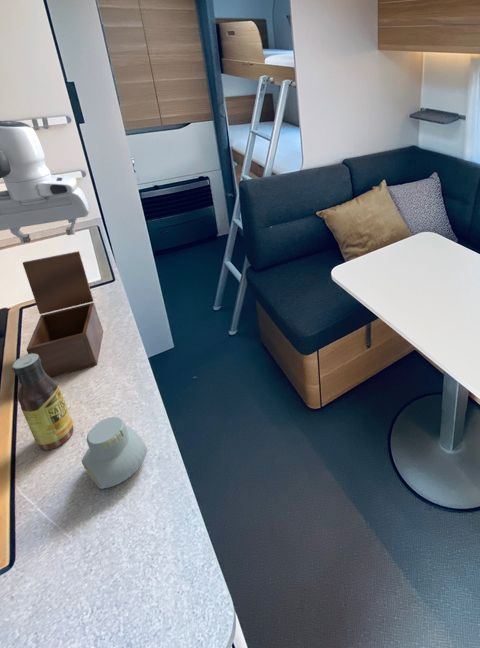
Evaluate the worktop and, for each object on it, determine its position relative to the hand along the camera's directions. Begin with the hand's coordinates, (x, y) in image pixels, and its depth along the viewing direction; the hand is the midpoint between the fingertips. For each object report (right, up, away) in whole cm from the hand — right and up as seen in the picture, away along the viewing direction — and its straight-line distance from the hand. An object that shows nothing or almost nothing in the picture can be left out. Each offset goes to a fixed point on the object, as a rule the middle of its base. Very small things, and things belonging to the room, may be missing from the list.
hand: (49, 238), depth 104 cm
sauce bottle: (+18, -39, -20) cm, 47 cm away
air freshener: (+34, -41, -26) cm, 60 cm away
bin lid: (+2, -12, 0) cm, 12 cm away
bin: (+6, -30, +1) cm, 31 cm away
